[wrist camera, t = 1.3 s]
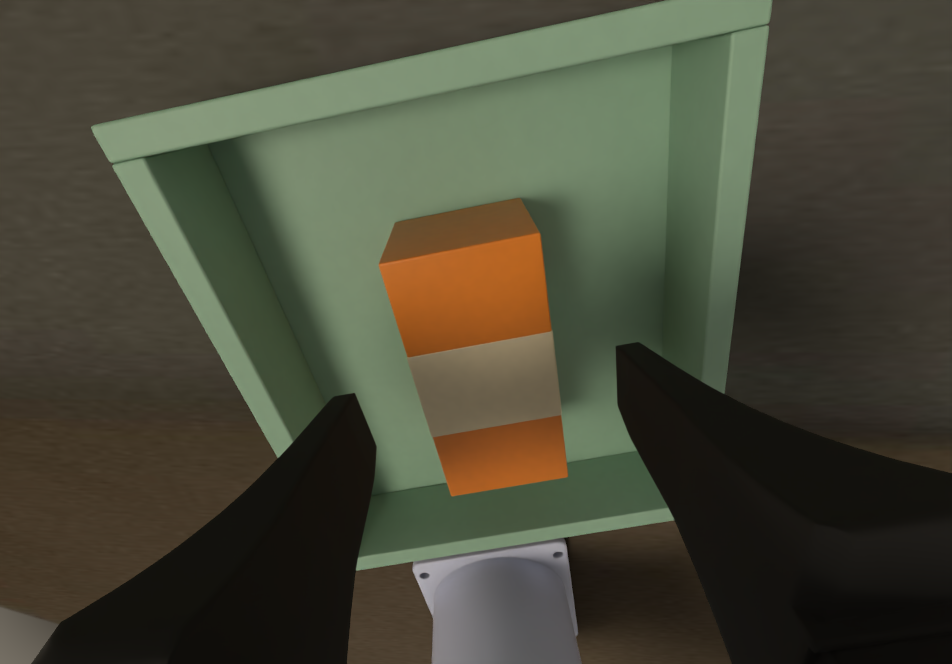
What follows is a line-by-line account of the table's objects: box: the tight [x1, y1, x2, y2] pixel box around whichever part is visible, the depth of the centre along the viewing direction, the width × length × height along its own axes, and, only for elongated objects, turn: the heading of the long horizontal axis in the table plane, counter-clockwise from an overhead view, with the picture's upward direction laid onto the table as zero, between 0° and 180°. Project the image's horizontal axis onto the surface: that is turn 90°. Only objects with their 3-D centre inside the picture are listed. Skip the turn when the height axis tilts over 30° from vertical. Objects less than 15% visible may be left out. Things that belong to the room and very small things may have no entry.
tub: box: [91, 0, 772, 571], centre depth 15 cm, size 17×15×4 cm
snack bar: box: [379, 198, 568, 496], centre depth 14 cm, size 8×4×4 cm, turn 10°
